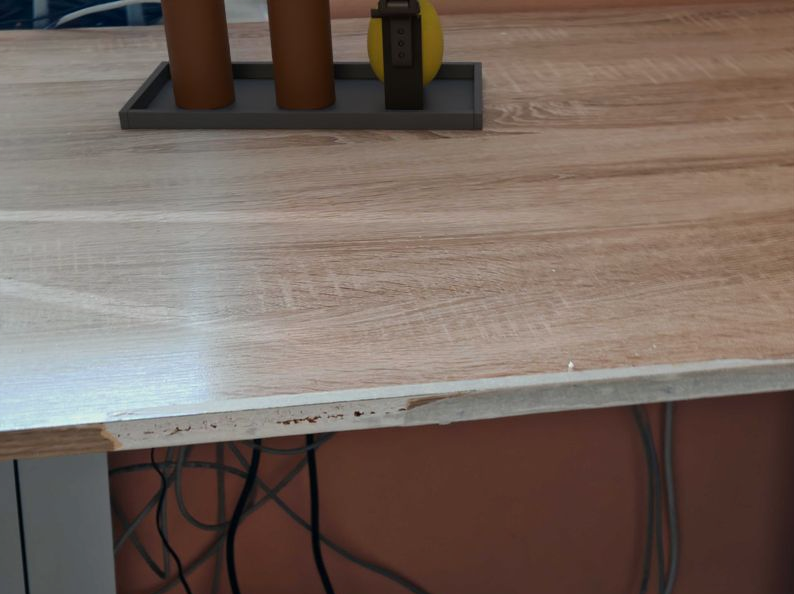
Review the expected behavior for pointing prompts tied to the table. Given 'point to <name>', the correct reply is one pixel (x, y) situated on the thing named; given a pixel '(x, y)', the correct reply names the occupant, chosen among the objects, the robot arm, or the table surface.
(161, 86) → the tray
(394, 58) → the robot arm
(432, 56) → the lemon
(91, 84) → the table surface
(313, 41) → the bottle
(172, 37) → the bottle
